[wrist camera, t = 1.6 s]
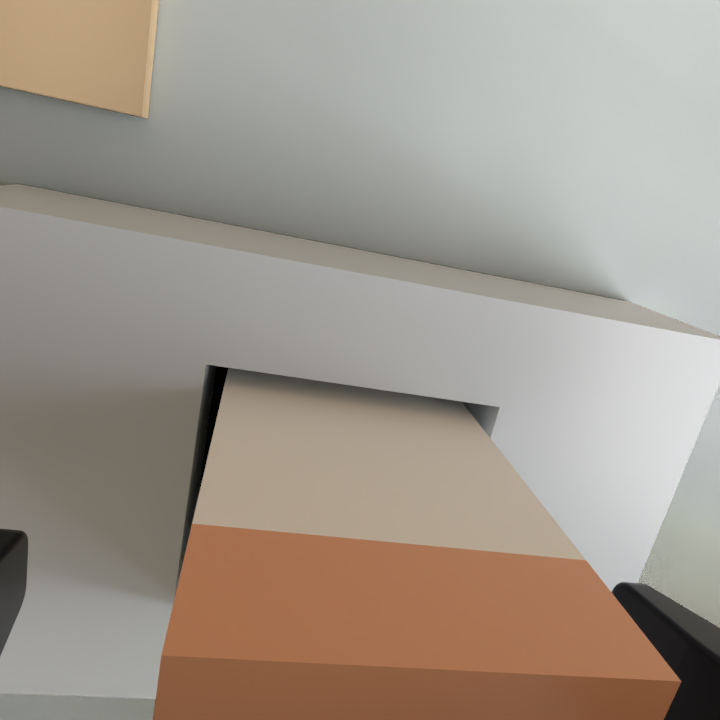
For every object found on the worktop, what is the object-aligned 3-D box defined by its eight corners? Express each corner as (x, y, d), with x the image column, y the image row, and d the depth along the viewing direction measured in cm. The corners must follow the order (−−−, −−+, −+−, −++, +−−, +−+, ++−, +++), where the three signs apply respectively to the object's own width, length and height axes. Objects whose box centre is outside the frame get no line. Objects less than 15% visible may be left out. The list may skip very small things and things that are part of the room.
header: (630, 302, 12) (736, 342, 9) (524, 608, 15) (583, 714, 12) (19, 184, 10) (-83, 190, 7) (6, 569, 12) (-75, 691, 9)
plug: (429, 361, 12) (680, 680, 5) (388, 524, 13) (536, 992, 6) (236, 330, 11) (161, 655, 4) (211, 506, 12) (112, 1021, 5)
